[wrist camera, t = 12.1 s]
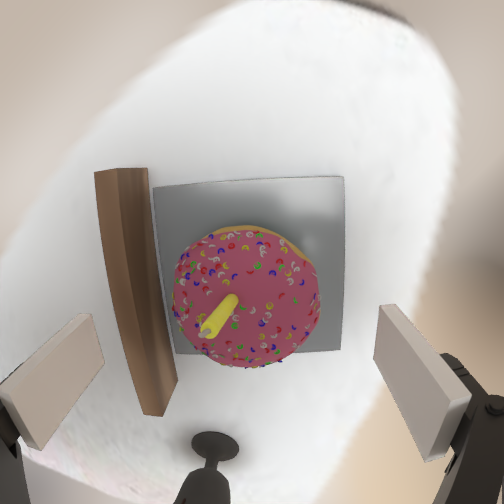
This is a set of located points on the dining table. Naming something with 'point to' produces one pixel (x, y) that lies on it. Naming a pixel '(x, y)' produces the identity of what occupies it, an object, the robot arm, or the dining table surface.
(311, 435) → the dining table surface
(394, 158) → the dining table surface
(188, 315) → the cupcake
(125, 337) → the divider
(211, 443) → the sundae
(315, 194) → the board
